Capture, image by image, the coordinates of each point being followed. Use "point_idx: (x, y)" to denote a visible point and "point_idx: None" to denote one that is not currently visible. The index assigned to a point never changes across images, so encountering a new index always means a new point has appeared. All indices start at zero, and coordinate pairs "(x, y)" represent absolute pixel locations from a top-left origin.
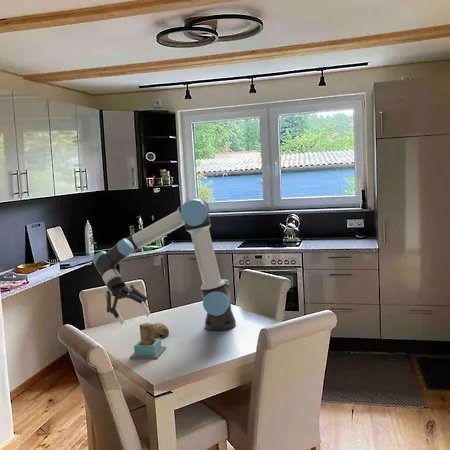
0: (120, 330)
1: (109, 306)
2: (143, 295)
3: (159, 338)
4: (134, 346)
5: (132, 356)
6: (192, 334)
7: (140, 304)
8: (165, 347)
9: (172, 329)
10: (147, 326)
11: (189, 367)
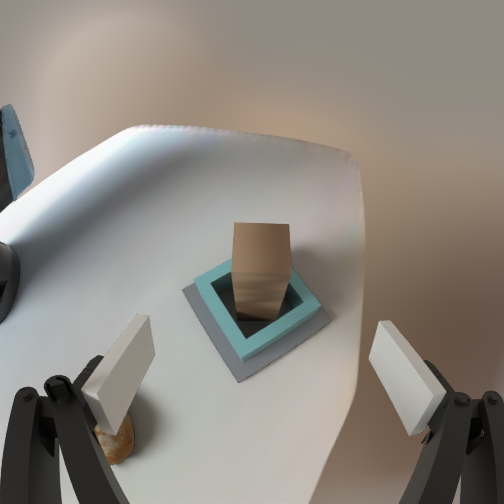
0: None
1: (498, 411)
2: (14, 425)
3: None
4: (319, 304)
5: (325, 312)
6: (49, 313)
7: (111, 427)
8: (187, 287)
9: None
10: (271, 225)
11: (255, 150)
